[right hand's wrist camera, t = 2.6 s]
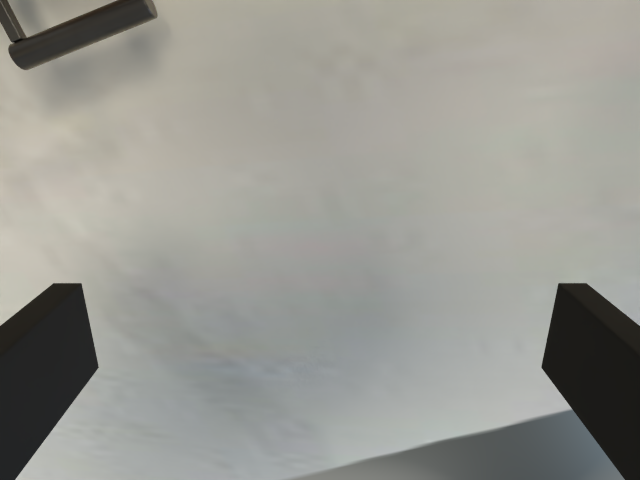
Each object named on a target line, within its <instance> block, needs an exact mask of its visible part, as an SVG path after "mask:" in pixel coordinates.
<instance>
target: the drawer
mask: <svg viewBox="0 0 640 480" xmlns="http://www.w3.org/2000/svg"><path fill="white" fill-rule="evenodd" d="M155 18H157V11H156V8H155V5H154V3H153V1H152V0H117V1H115V2H112V3H110V4H107V5H105V6H103V7H100V8H98V9H95V10H93V11H90V12H88V13H86V14H83V15H81V16H78V17H76V18H73V19H71V20H69V21H66V22H64V23H61V24H59V25H56V26H54V27H52V28H49V29H47V30H44V31H42V32H39V33H37V34H35V35H32V36H30V37H26V35H25V33H24V32H23V30H22V28H21V26H20V24H19V22H18V20H17V18H16V16H15V14H14V13H13V11H12V9H11V7H10V5H9V3H8V1H7V0H0V22H1V24H2V26H3V27H4V29H5V31H6V33H7V35H8V37H9V39H10V40H11V42H14V43H13V44H11V45H10V46H9V48H8V50H9V54H10V56H11V58H12V60H13V61H14V62H15V64H16V65H17V66H18V67H20V68H21V69H23V70H29V69H31V68H34V67H36V66H39V65H41V64H44V63H46V62H49V61H51V60H54V59H56V58H59V57H61V56H63V55H66V54H68V53H71V52H73V51H76V50H78V49H81V48H83V47H86V46H88V45H91V44H93V43H96V42H98V41H101V40H103V39H106V38H108V37H111V36H113V35H116V34H118V33H121V32H123V31H126V30H128V29H131V28H133V27H136V26H138V25H141V24H143V23H146V22H148V21H151V20H153V19H155Z"/></svg>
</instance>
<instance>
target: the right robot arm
mask: <svg viewBox="0 0 640 480" xmlns="http://www.w3.org/2000/svg"><path fill="white" fill-rule="evenodd" d="M98 368H99V367H98V362H97V357H96V352H95V347H94V343H93V338H92V333H91V328H90V323H89V318H88V313H87V308H86V303H85V299H84V294H83V289H82V284H81V283H53V284H52V285H51V286H50V287H48V288H47V289H46V290H45V291H43V292H42V293H41V294H40V295H38V296H37V297H36V298H35V299H33V300H32V301H31V302H30V303H29V304H27V305H26V306H25V307H24V308H22V309H21V310H20V311H19V312H17V313H16V314H15V315H14V316H12V317H11V318H10V319H9V320H7V321H6V322H5V323H4V324H2V325H1V326H0V480H15V479H16V478H17V476H18V475H19V474H20V472H21V471H22V470H23V468H24V467H25V466H26V464H27V463H28V461H29V460H30V459H31V457H32V456H33V455H34V453H35V452H36V451H37V449H38V448H39V447H40V445H41V444H42V443H43V441H44V440H45V439H46V437H47V436H48V435H49V433H50V432H51V431H52V429H53V428H54V427H55V425H56V424H57V423H58V421H59V420H60V419H61V417H62V416H63V415H64V413H65V412H66V410H67V409H68V408H69V406H70V405H71V404H72V402H73V401H74V400H75V398H76V397H77V396H78V394H79V393H80V392H81V390H82V389H83V388H84V386H85V385H86V384H87V382H88V381H89V380H90V378H91V377H92V376H93V374H94V373H95V372H96V370H97V369H98ZM541 368H542V369H543V370H544V372H545V373H546V374H547V376H548V377H549V378H550V380H551V381H552V382H553V384H554V385H555V386H556V388H557V389H558V390H559V392H560V393H561V394H562V396H563V397H564V398H565V400H566V401H567V402H568V404H569V405H570V406H571V408H572V409H573V410H574V412H575V413H576V414H577V416H578V417H579V419H580V420H581V421H582V423H583V424H584V425H585V427H586V428H587V429H588V431H589V432H590V433H591V435H592V436H593V437H594V439H595V440H596V441H597V443H598V444H599V445H600V447H601V448H602V449H603V451H604V452H605V453H606V455H607V456H608V457H609V459H610V460H611V461H612V463H613V464H614V466H615V467H616V468H617V470H618V471H619V472H620V474H621V475H622V476H623V478H624V479H625V480H640V326H639V325H638V324H636V323H635V322H634V321H633V320H631V319H630V318H629V317H628V316H626V315H625V314H624V313H623V312H621V311H620V310H619V309H618V308H616V307H615V306H614V305H613V304H611V303H610V302H609V301H608V300H607V299H605V298H604V297H603V296H602V295H600V294H599V293H598V292H597V291H595V290H594V289H593V288H592V287H590V286H589V285H588V284H587V283H559V284H558V289H557V294H556V298H555V303H554V308H553V313H552V318H551V323H550V328H549V333H548V338H547V343H546V347H545V352H544V357H543V362H542V367H541Z"/></svg>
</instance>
